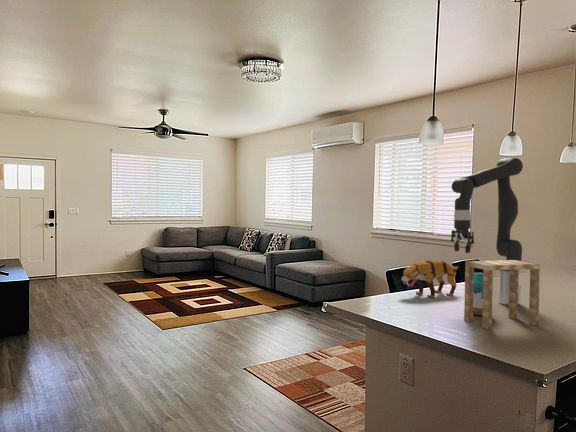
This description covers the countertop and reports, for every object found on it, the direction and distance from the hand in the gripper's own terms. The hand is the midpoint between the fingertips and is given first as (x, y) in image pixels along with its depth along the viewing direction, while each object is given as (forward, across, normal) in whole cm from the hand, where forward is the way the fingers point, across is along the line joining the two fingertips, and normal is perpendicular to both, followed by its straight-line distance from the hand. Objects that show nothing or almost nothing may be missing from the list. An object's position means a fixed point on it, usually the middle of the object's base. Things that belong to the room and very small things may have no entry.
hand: (462, 251), depth 216 cm
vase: (+28, -15, +2) cm, 32 cm away
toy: (+28, +29, -2) cm, 40 cm away
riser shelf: (+27, -29, +2) cm, 40 cm away
